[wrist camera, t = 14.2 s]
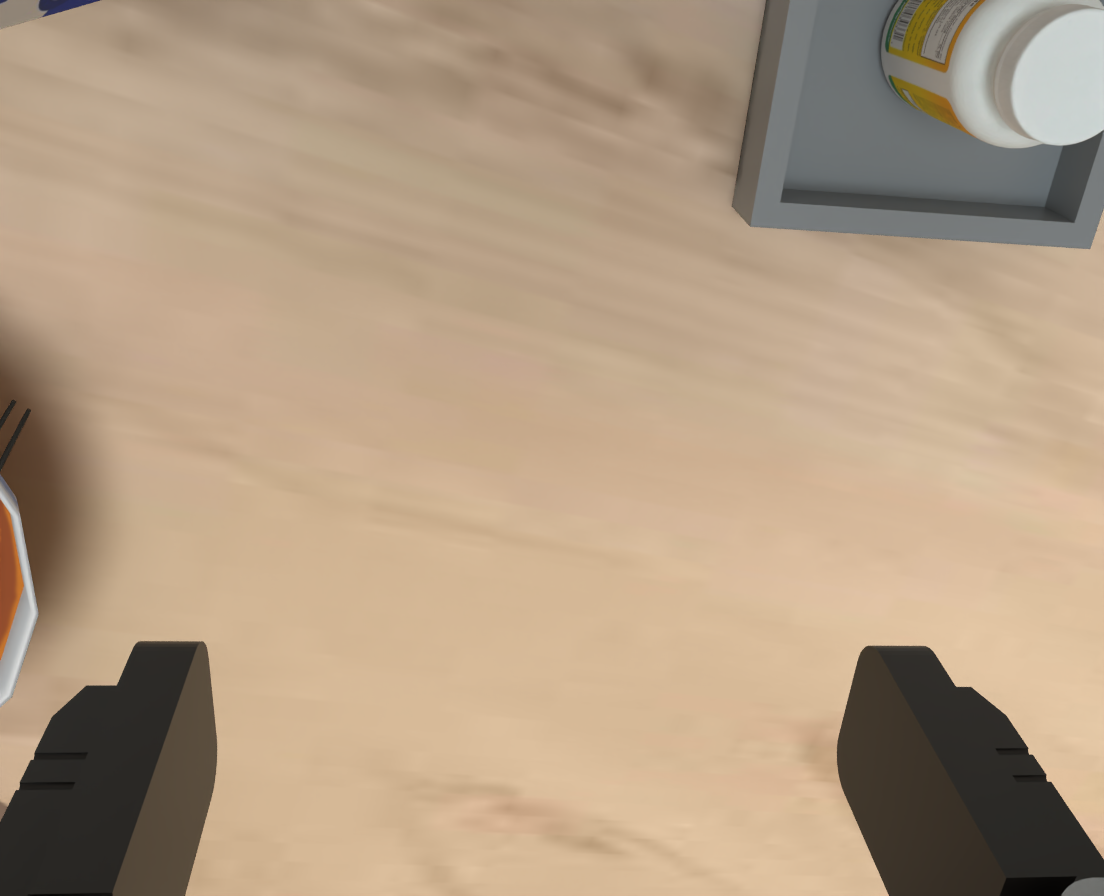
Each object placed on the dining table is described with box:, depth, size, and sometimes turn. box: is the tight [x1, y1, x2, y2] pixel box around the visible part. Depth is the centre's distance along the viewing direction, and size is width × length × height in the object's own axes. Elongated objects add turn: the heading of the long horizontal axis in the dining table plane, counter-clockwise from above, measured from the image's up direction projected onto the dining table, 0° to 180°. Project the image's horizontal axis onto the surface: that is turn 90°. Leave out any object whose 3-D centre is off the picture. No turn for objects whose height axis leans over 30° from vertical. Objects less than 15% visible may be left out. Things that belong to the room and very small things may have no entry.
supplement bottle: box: [881, 0, 1104, 148], centre depth 36 cm, size 5×5×10 cm
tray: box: [732, 0, 1104, 249], centre depth 39 cm, size 14×14×3 cm
